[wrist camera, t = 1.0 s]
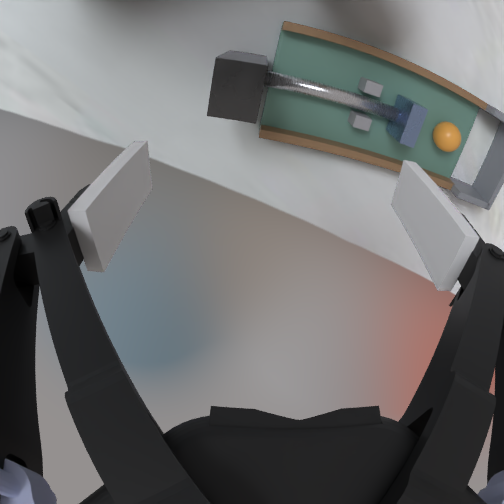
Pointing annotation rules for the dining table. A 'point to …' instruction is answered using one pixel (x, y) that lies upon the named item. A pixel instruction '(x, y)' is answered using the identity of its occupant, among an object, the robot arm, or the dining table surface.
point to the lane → (357, 121)
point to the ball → (446, 136)
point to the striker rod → (256, 77)
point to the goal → (486, 171)
